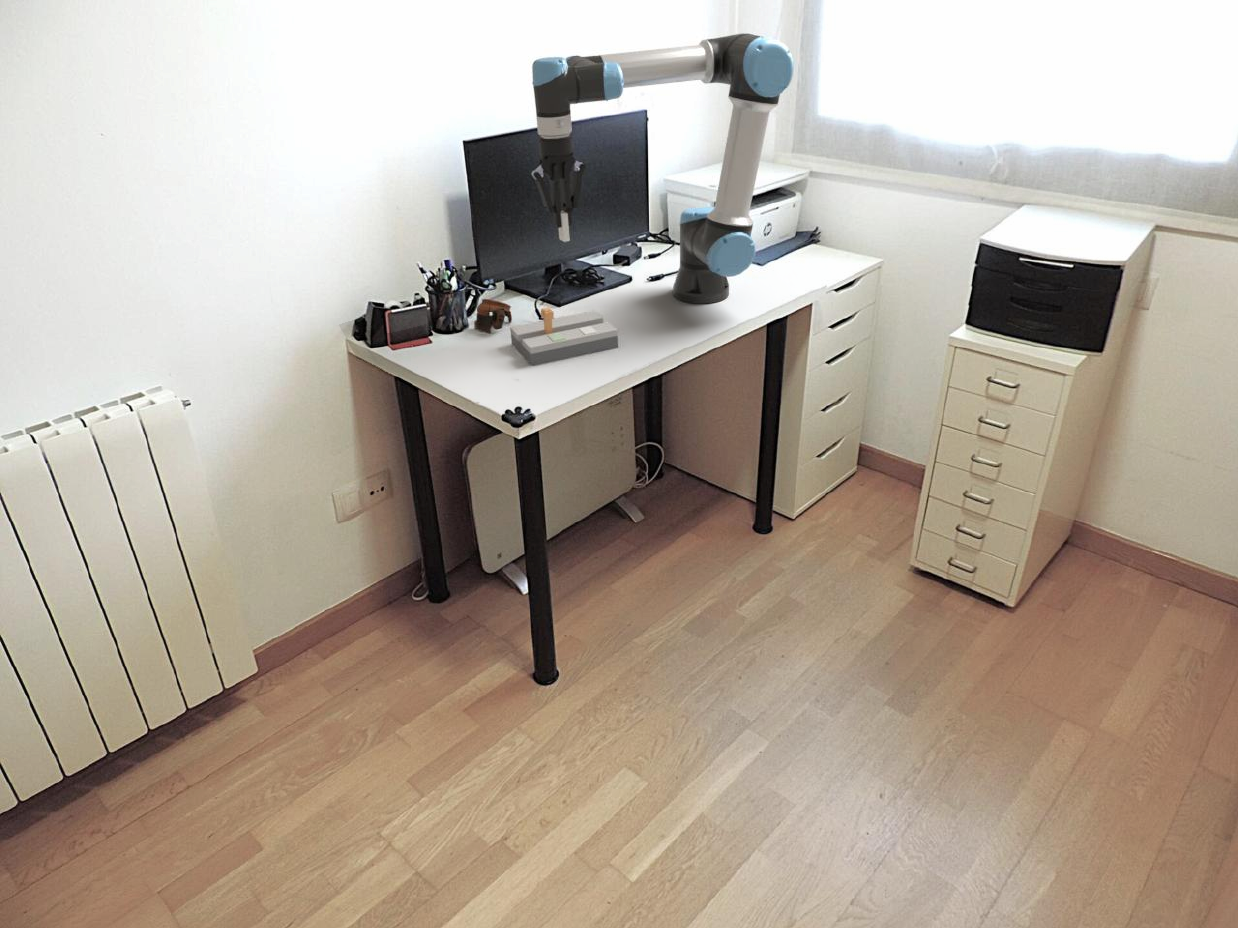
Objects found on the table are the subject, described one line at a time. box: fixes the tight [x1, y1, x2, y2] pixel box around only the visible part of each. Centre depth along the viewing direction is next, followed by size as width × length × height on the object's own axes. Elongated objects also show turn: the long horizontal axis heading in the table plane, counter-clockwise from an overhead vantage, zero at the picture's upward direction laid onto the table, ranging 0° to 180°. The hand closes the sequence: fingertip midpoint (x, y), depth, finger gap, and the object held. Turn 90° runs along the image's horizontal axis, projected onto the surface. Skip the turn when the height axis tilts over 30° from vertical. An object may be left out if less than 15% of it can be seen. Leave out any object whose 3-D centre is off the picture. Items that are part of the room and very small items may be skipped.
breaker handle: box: [540, 307, 554, 335], centre depth 210 cm, size 2×3×7 cm, turn 25°
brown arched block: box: [473, 298, 513, 334], centre depth 225 cm, size 12×10×8 cm
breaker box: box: [509, 310, 619, 367], centre depth 214 cm, size 22×14×5 cm, turn 115°
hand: (564, 240), depth 209 cm, fingers closed
